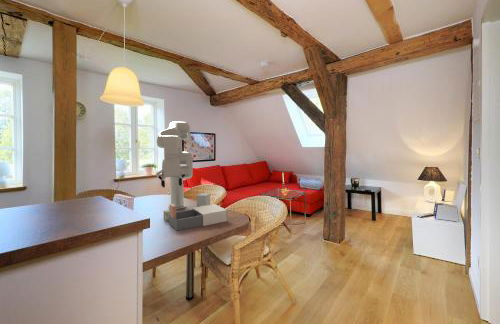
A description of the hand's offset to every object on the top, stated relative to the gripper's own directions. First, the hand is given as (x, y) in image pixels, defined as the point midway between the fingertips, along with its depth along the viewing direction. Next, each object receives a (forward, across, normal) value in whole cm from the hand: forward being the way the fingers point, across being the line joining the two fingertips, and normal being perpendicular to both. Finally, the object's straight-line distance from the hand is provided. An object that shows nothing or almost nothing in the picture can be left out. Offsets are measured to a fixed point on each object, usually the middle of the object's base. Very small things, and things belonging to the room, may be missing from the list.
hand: (171, 186), depth 142 cm
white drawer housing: (+24, -23, 0) cm, 34 cm away
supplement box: (+24, -28, -19) cm, 41 cm away
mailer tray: (+24, -9, 0) cm, 26 cm away
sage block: (+24, -2, -15) cm, 28 cm away
